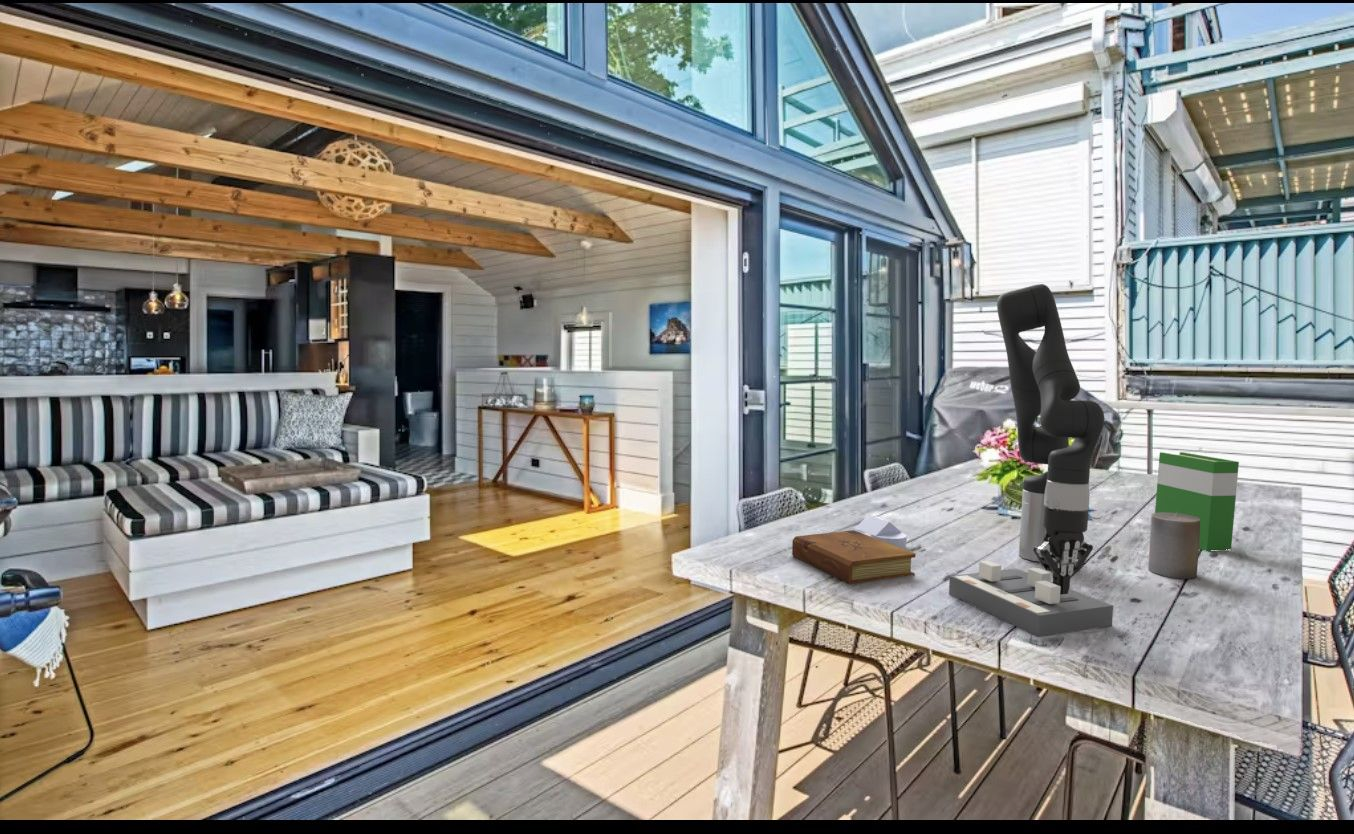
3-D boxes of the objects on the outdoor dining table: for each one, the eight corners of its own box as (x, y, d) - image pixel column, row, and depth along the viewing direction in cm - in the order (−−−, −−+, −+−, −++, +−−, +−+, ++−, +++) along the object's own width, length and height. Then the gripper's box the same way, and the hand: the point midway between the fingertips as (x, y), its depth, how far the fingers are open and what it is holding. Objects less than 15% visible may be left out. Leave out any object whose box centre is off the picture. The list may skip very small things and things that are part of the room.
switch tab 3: (1044, 596, 140) (1045, 580, 140) (1059, 602, 137) (1060, 586, 136) (1034, 597, 139) (1035, 581, 139) (1049, 604, 136) (1050, 587, 135)
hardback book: (1153, 534, 208) (1159, 452, 206) (1175, 533, 209) (1182, 452, 207) (1206, 551, 191) (1214, 462, 188) (1231, 550, 192) (1238, 461, 189)
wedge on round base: (854, 540, 197) (886, 552, 185) (855, 516, 196) (887, 527, 184) (880, 537, 201) (913, 549, 189) (881, 513, 200) (914, 524, 188)
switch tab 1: (987, 575, 153) (988, 560, 153) (1000, 580, 149) (1001, 565, 149) (978, 576, 152) (979, 561, 152) (991, 581, 149) (992, 566, 148)
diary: (792, 559, 180) (792, 536, 180) (852, 551, 188) (853, 530, 187) (848, 586, 159) (849, 560, 159) (914, 576, 167) (915, 552, 166)
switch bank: (1015, 586, 160) (1016, 567, 159) (1111, 625, 137) (1113, 604, 137) (948, 594, 154) (949, 575, 154) (1038, 636, 131) (1039, 614, 131)
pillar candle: (1194, 571, 173) (1198, 509, 172) (1199, 581, 164) (1203, 517, 163) (1146, 565, 178) (1150, 505, 177) (1148, 575, 169) (1152, 512, 168)
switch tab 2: (1036, 582, 148) (1037, 567, 148) (1050, 588, 145) (1051, 573, 144) (1027, 584, 147) (1028, 568, 147) (1041, 589, 144) (1042, 574, 144)
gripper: (1075, 498, 143) (1070, 583, 144) (1023, 502, 138) (1018, 590, 140) (1109, 506, 136) (1103, 596, 137) (1055, 511, 131) (1049, 603, 133)
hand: (1060, 593), depth 139 cm, fingers closed
